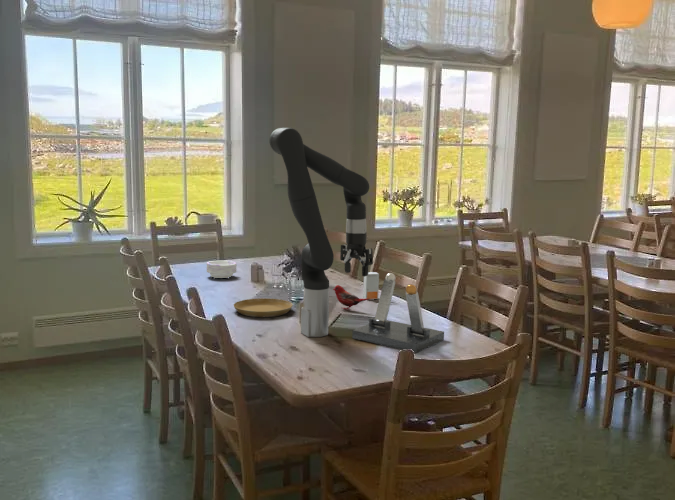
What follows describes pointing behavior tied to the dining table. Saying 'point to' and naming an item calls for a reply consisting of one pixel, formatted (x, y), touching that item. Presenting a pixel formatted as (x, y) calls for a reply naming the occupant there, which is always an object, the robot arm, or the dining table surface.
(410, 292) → the orange lever
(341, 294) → the decorative bird figurine
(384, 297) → the white lever
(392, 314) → the dining table surface
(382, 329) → the switch panel
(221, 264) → the white footed bowl
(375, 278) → the skincare box
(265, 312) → the plant saucer
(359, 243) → the robot arm
